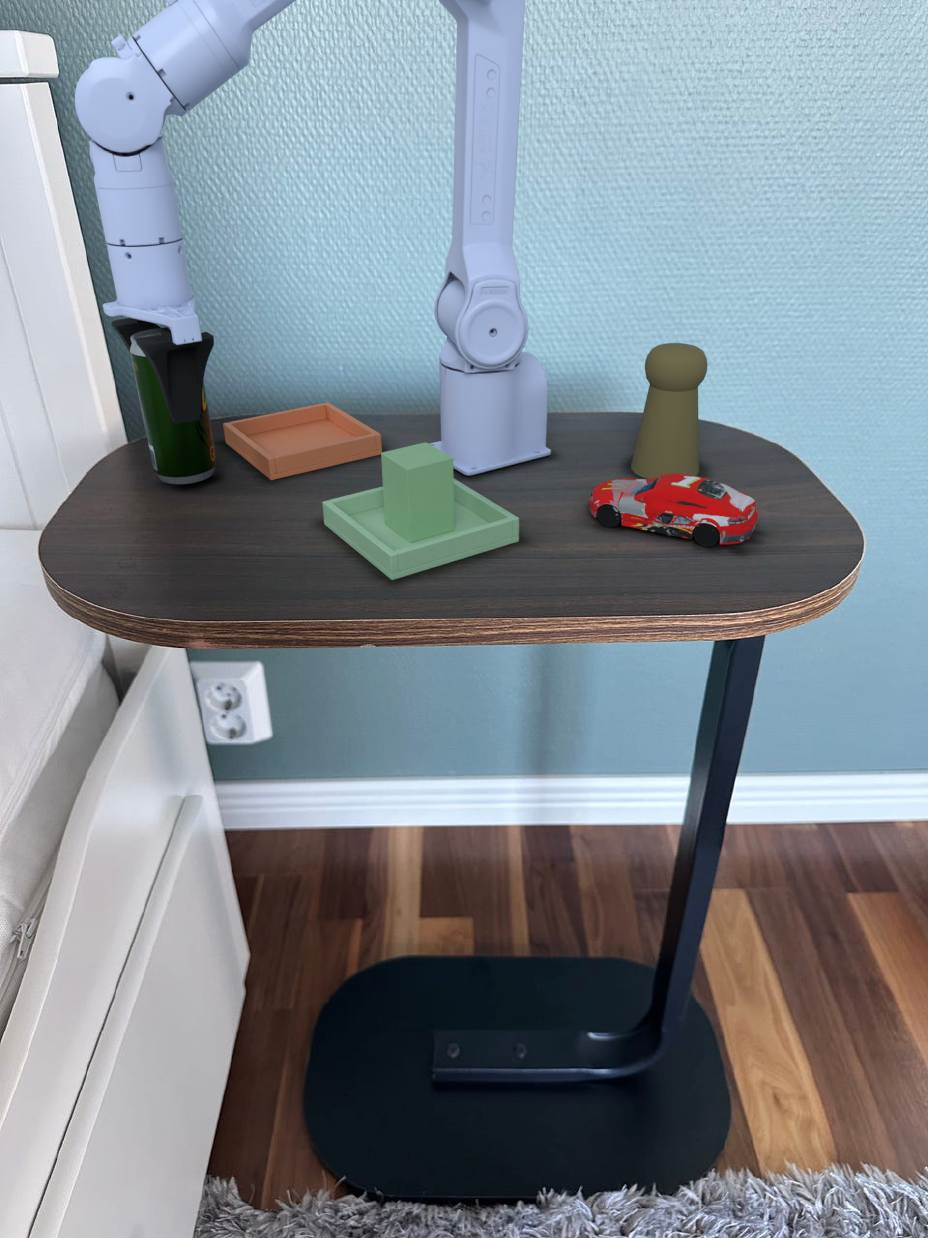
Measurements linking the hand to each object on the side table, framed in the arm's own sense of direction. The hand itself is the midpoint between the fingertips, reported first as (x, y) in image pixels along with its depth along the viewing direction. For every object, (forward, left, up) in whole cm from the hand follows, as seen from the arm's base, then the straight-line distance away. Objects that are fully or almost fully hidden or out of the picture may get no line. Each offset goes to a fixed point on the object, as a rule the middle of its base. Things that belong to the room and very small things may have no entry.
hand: (175, 411), depth 80 cm
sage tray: (-12, +20, -7) cm, 24 cm away
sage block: (-12, +20, -6) cm, 24 cm away
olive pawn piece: (-37, +21, -7) cm, 43 cm away
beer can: (0, 0, -6) cm, 6 cm away
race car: (-29, +30, -7) cm, 42 cm away
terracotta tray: (-12, -2, -7) cm, 14 cm away
